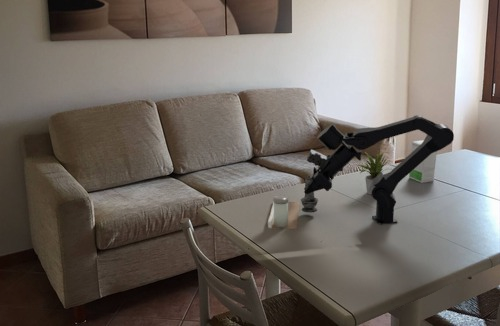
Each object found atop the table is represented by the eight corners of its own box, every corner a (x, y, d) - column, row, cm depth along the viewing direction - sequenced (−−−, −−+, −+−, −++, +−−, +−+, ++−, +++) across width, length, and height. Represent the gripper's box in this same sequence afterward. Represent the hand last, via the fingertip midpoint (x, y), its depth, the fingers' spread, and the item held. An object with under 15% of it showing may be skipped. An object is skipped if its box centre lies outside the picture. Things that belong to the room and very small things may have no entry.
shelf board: (300, 205, 197) (300, 202, 197) (296, 232, 173) (296, 228, 173) (275, 204, 198) (275, 201, 198) (268, 231, 174) (268, 228, 174)
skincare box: (408, 178, 225) (410, 141, 221) (420, 175, 228) (423, 139, 224) (422, 183, 218) (425, 145, 214) (435, 181, 221) (438, 143, 216)
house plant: (362, 184, 219) (363, 144, 214) (396, 189, 212) (399, 148, 208) (349, 194, 207) (351, 152, 202) (385, 200, 200) (388, 157, 196)
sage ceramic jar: (290, 226, 175) (290, 200, 172) (275, 228, 174) (275, 201, 171) (286, 221, 179) (286, 195, 177) (272, 222, 178) (271, 196, 176)
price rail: (277, 204, 198) (277, 196, 197) (271, 231, 174) (271, 222, 174) (274, 204, 198) (274, 196, 198) (267, 231, 175) (267, 222, 174)
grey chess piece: (306, 205, 188) (306, 172, 185) (321, 209, 184) (321, 175, 181) (297, 210, 184) (297, 176, 180) (311, 214, 180) (312, 179, 177)
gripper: (321, 136, 186) (289, 166, 190) (321, 149, 168) (286, 183, 173) (344, 158, 187) (312, 188, 191) (346, 174, 169) (311, 207, 174)
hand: (305, 191), depth 182 cm, fingers closed on grey chess piece, 4 cm apart
